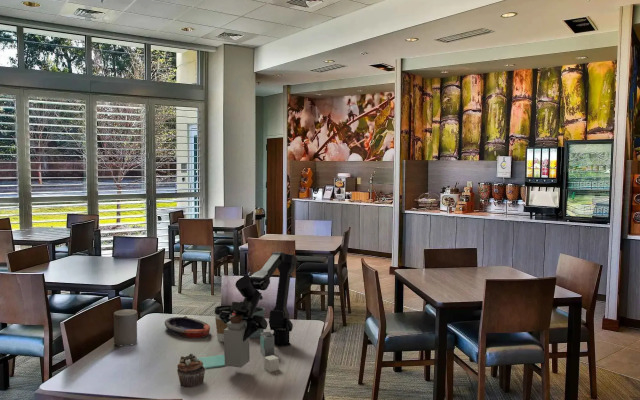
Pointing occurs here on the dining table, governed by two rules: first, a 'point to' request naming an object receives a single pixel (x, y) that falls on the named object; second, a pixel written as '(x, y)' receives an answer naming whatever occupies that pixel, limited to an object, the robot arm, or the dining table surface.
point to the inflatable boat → (187, 327)
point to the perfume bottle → (236, 342)
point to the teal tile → (213, 361)
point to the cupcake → (190, 371)
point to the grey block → (271, 363)
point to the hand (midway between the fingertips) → (234, 340)
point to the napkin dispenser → (267, 344)
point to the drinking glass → (261, 313)
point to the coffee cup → (219, 323)
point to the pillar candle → (125, 327)
